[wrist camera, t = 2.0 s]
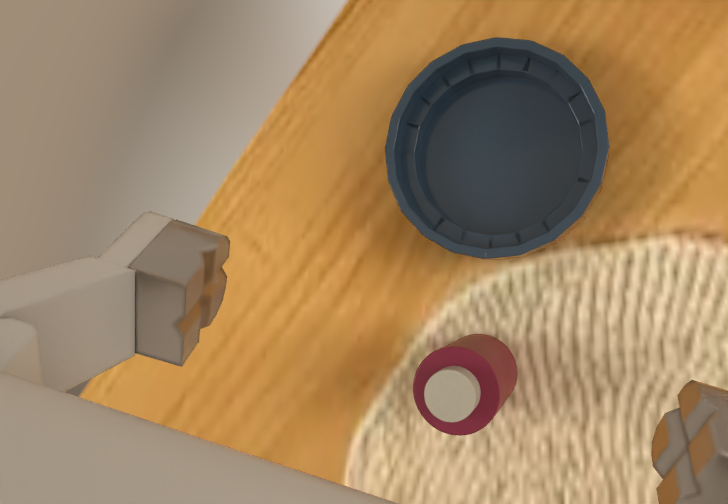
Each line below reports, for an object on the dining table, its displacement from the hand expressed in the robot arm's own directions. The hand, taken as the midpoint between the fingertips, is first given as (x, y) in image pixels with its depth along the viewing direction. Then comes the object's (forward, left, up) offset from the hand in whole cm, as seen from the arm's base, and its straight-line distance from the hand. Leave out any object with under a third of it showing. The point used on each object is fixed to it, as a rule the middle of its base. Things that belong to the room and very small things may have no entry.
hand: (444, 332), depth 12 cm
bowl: (-3, -10, -40) cm, 41 cm away
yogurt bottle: (+9, +1, -40) cm, 41 cm away
